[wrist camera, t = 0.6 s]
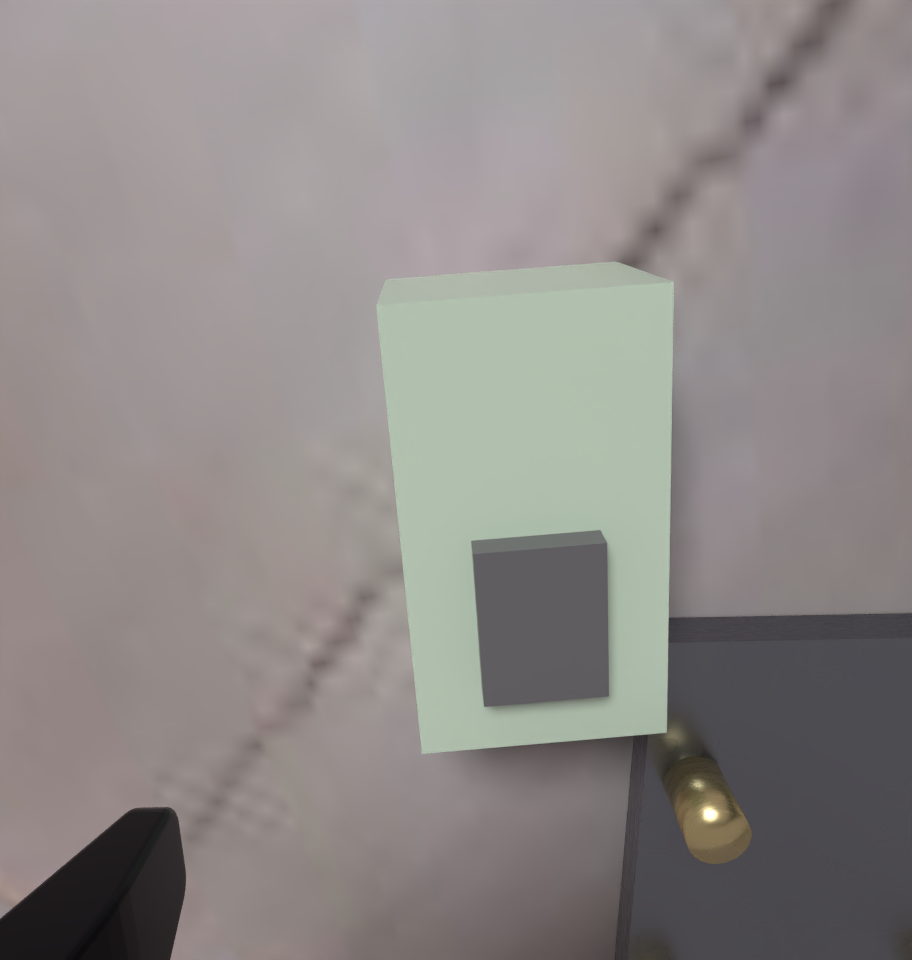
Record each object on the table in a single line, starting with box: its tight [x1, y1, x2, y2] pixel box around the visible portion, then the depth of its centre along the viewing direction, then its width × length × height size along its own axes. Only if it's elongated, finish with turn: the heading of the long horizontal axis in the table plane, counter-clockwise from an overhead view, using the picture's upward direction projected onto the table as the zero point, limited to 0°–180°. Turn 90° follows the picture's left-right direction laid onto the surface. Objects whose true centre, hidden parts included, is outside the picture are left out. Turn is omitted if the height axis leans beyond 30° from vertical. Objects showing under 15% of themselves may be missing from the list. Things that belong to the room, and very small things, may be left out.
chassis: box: [615, 613, 912, 960], centre depth 22 cm, size 11×16×3 cm
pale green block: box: [376, 262, 674, 754], centre depth 17 cm, size 5×9×5 cm, turn 4°
